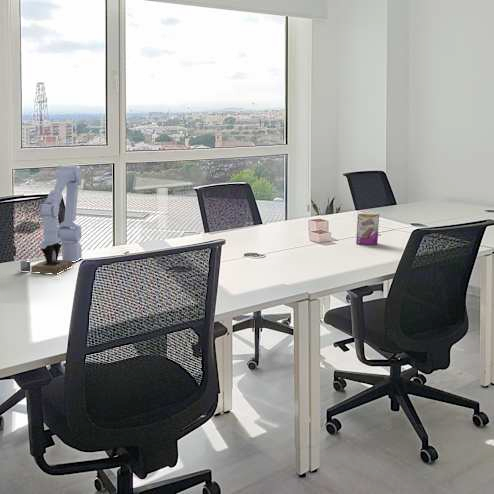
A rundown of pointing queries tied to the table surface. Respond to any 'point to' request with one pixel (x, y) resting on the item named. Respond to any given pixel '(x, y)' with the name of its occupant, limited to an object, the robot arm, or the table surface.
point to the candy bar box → (367, 228)
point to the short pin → (25, 265)
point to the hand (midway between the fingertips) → (52, 261)
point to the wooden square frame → (51, 267)
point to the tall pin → (53, 259)
